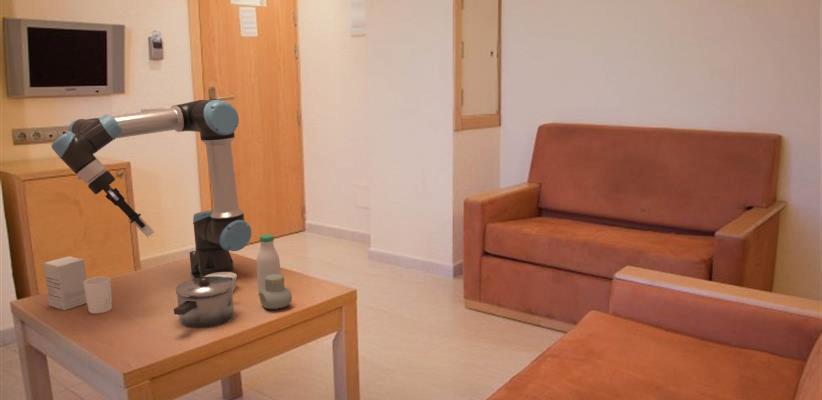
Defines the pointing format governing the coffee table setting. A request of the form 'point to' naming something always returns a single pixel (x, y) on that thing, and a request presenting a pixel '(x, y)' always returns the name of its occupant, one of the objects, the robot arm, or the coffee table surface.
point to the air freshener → (275, 293)
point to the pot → (205, 310)
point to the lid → (202, 282)
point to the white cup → (98, 294)
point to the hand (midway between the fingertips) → (150, 234)
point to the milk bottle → (266, 261)
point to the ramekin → (226, 274)
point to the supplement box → (65, 282)
